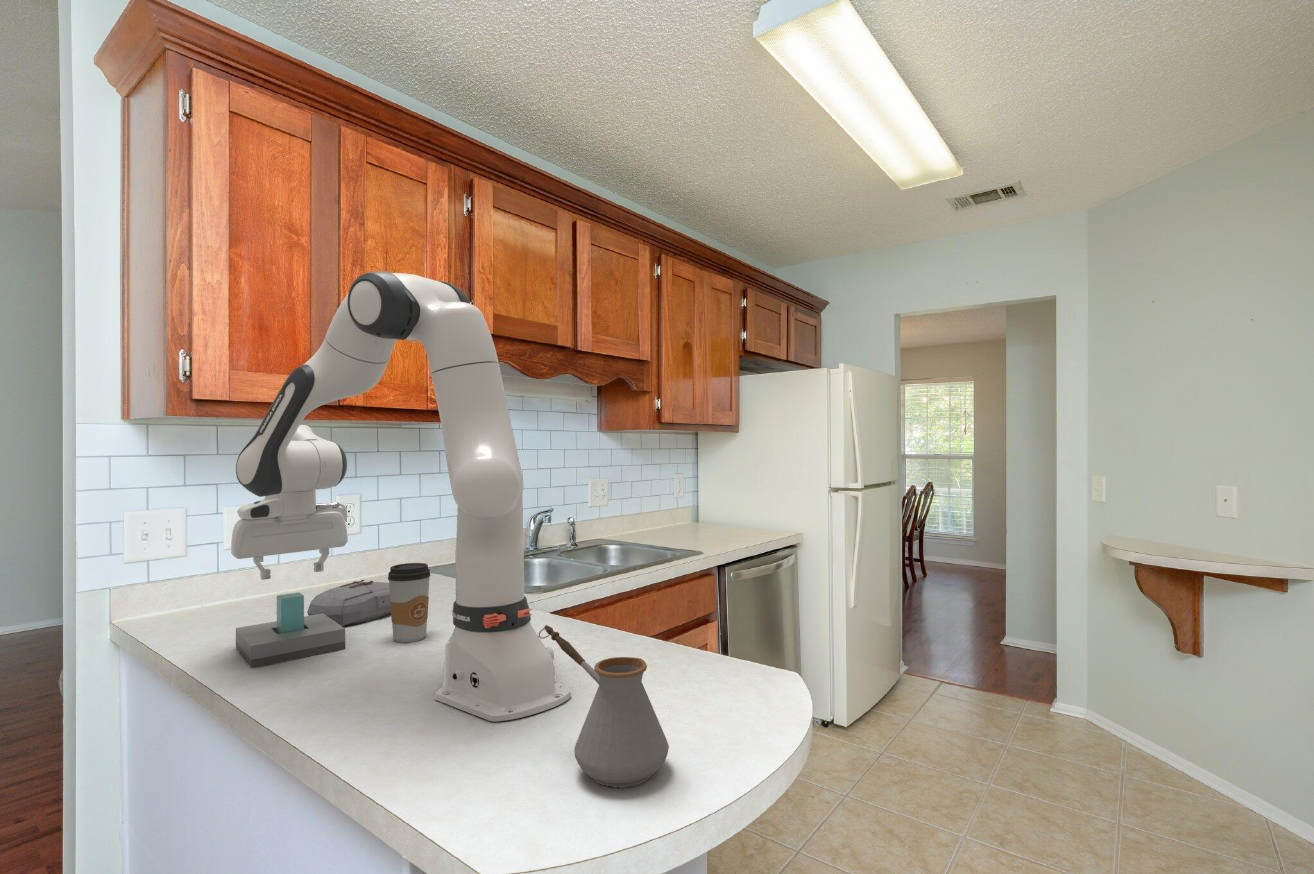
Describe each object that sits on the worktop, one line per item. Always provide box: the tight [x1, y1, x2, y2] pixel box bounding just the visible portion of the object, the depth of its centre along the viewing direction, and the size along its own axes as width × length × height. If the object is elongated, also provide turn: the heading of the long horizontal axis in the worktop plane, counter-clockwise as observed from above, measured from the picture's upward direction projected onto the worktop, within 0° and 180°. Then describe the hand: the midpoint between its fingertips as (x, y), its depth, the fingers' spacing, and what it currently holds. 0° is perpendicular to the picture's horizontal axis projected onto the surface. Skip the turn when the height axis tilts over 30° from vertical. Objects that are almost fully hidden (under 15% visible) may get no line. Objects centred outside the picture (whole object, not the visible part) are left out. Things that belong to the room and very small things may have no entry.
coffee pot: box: [538, 624, 670, 789], centre depth 82 cm, size 21×12×15 cm, turn 46°
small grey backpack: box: [306, 579, 391, 627], centre depth 151 cm, size 15×8×20 cm
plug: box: [276, 591, 305, 634], centre depth 128 cm, size 4×4×9 cm
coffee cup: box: [387, 562, 431, 644], centre depth 134 cm, size 8×8×15 cm
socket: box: [235, 613, 346, 669], centre depth 128 cm, size 16×16×4 cm
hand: (292, 575), depth 129 cm, fingers open, 8 cm apart
